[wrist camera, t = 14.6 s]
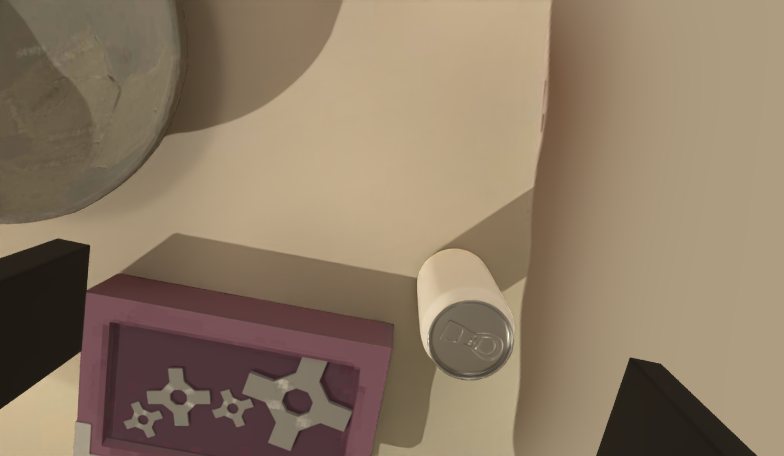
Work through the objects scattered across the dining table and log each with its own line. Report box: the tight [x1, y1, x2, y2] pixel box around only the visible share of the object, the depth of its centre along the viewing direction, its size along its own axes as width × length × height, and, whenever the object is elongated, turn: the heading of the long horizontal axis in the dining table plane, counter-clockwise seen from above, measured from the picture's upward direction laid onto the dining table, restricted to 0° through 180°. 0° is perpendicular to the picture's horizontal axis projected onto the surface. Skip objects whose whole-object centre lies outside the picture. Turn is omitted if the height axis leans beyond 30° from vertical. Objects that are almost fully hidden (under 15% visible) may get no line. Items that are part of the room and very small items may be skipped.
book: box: [73, 274, 394, 456], centre depth 44 cm, size 25×16×5 cm, turn 79°
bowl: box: [0, 0, 188, 224], centre depth 36 cm, size 26×26×10 cm
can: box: [417, 249, 515, 380], centre depth 38 cm, size 6×6×12 cm
